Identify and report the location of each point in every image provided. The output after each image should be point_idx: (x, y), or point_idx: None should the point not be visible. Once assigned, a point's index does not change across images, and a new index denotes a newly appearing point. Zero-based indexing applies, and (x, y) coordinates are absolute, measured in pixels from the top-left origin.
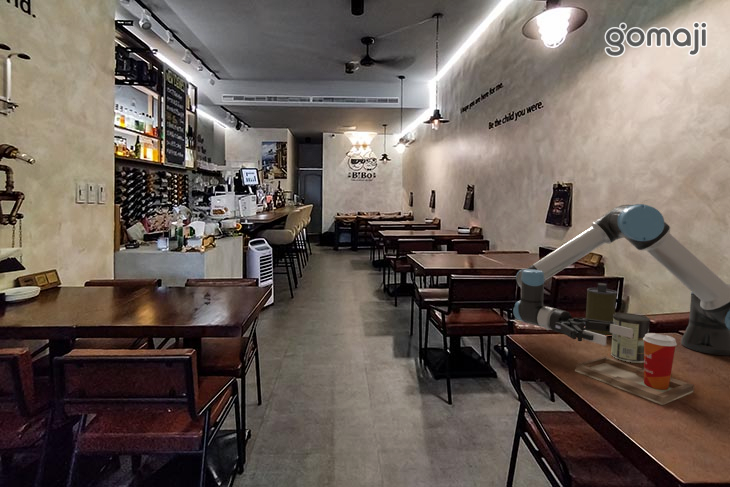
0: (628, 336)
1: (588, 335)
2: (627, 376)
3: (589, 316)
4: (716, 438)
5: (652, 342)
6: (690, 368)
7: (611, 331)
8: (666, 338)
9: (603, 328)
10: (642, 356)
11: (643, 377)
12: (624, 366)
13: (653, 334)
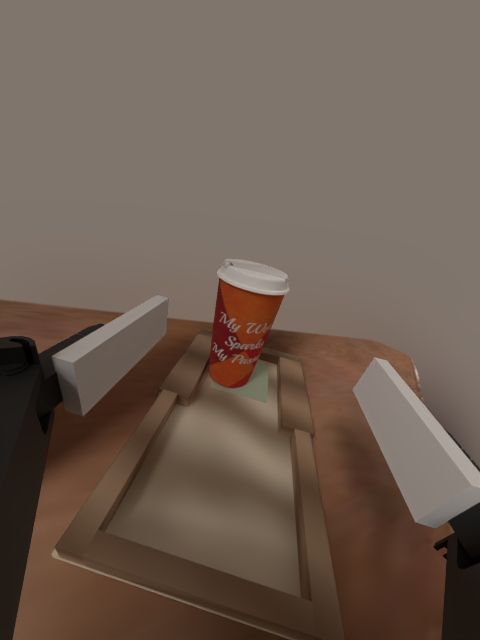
0: (159, 336)
1: (455, 442)
2: (218, 422)
3: None
4: (316, 336)
5: (287, 287)
6: (35, 332)
7: (95, 396)
8: (257, 265)
9: (41, 453)
10: None
11: (194, 392)
12: (156, 435)
13: (247, 270)
